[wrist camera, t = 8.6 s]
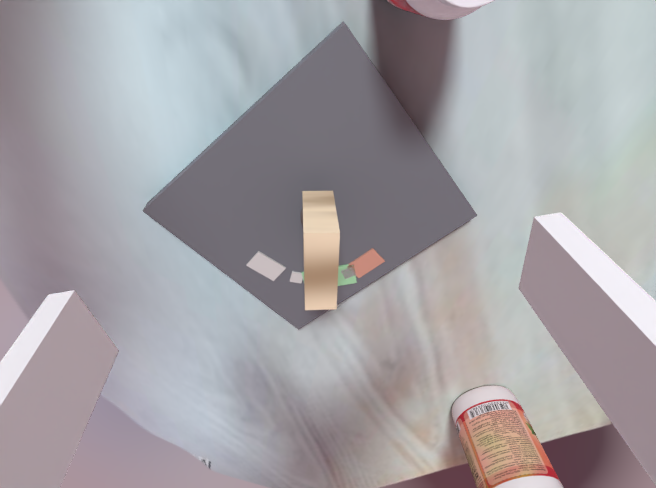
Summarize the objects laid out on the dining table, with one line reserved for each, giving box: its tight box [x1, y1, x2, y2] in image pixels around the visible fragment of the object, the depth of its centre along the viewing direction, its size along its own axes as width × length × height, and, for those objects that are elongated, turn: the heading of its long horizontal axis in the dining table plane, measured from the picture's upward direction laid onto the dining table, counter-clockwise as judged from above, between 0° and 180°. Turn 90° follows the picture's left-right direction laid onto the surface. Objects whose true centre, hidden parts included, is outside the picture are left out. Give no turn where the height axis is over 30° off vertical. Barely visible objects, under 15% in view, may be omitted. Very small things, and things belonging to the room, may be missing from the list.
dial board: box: [143, 22, 477, 329], centre depth 35 cm, size 20×22×2 cm
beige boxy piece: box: [300, 191, 340, 310], centre depth 33 cm, size 12×3×8 cm, turn 179°
